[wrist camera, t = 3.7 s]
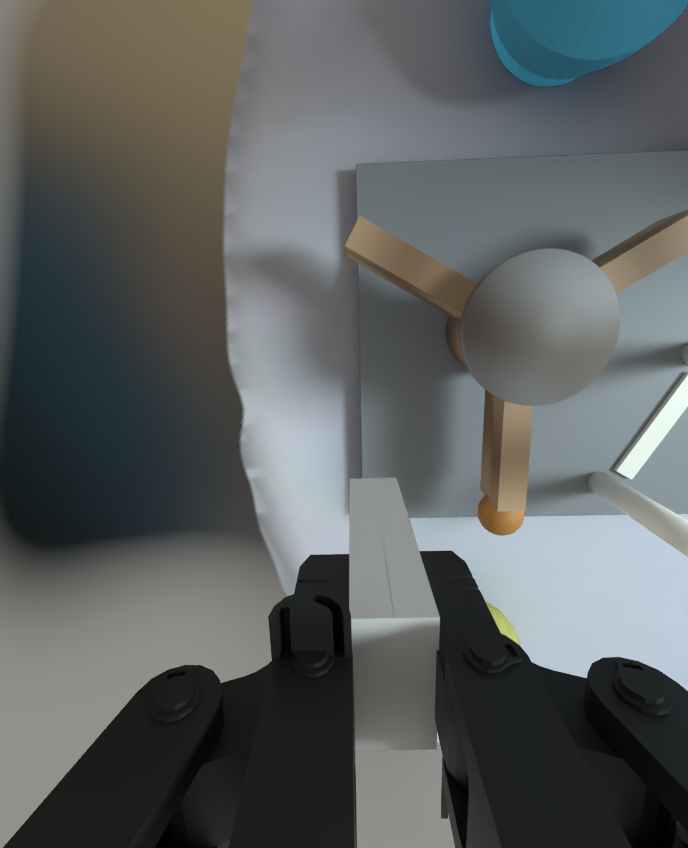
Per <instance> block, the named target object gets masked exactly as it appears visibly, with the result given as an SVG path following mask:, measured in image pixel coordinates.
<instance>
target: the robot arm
mask: <svg viewBox="0 0 688 848" xmlns="http://www.w3.org/2000/svg"><path fill="white" fill-rule="evenodd" d="M268 617H269V630H270V642H271V654H272V661H271V662H270V663H269V664H268V665H267V666H265V667H263V668H262V669H260V670H258V671H257V672H255V673H252V674H249V675H247V676H245V677H241V678H237V679H234V680H230V681H227V682H223V683H220V680H219V678H218V677H217V675H216V674H215V673H214V671H212V670H210V669H208V668H206V667H203V666H201V665H184V666H180V667H177V668H173V669H169V670H167V671H165V672H163V673H162V674H160V675H158V676H156V677H154V678H152V679H151V680H150V681H149V682H148V683H147V684H146V685H144V686H143V687H142V688H141V689H140V690H139V691H138V692H137V693H136V694H135V695H134V696H133V697H132V699H131V700H130V701H129V702H128V703H127V704H126V706H125V707H124V708H123V709H122V710H121V711H120V713H119V714H118V715H117V716H116V717H115V718H114V720H113V721H112V722H111V723H110V724H109V725H108V726H107V728H106V729H105V730H104V731H103V732H102V733H101V735H100V736H99V737H98V738H97V739H96V740H95V742H94V743H93V744H92V745H91V746H90V747H89V749H88V750H87V751H86V752H85V753H84V755H82V757H81V758H80V759H79V760H78V761H77V763H76V764H75V765H74V766H73V767H72V768H71V769H70V771H69V772H68V773H67V774H66V775H65V776H64V778H63V779H62V780H61V781H60V782H59V783H58V785H57V786H56V787H55V788H54V789H53V790H52V791H51V793H50V794H49V795H48V796H47V797H46V798H45V800H44V801H43V802H42V803H41V804H40V805H39V807H38V808H37V809H36V810H35V811H34V812H33V814H32V815H31V816H30V817H29V818H28V819H27V821H26V822H25V823H24V824H23V825H22V826H21V827H20V829H19V830H18V831H17V832H16V833H15V834H14V836H13V837H12V838H11V839H10V840H9V841H8V843H7V844H6V845H5V846H4V847H3V848H357V831H356V828H357V827H356V773H355V750H400V749H401V750H404V749H436V744H437V732H438V736H439V741H440V745H441V750H442V755H443V759H442V790H441V818H448V813H449V818H450V823H451V828H452V833H453V838H454V843H455V848H688V691H687V690H685V689H684V688H683V687H682V686H681V685H679V684H678V683H677V682H675V681H674V680H672V679H671V678H669V677H668V676H666V675H665V674H663V673H662V672H660V671H659V670H657V669H655V668H652V667H650V666H648V665H645V664H643V663H641V662H638V661H634V660H630V659H625V658H621V657H611V658H602V659H600V660H598V661H596V662H594V663H592V665H591V667H590V669H589V671H588V675H587V678H583V677H578V676H574V675H570V674H566V673H562V672H557V671H553V670H550V669H547V668H544V667H541V666H538V665H536V664H534V663H532V662H531V660H530V659H529V657H528V655H527V654H526V653H525V652H524V650H523V649H522V648H521V647H520V645H519V644H517V643H516V642H514V641H513V640H512V639H510V638H509V637H507V636H506V635H503V634H501V632H500V630H499V628H498V626H497V624H496V622H495V620H494V618H493V616H492V614H491V612H490V610H489V608H488V606H487V604H486V602H485V600H484V598H483V596H482V594H481V592H480V590H478V586H477V584H476V582H475V580H474V579H473V577H472V574H471V572H470V570H469V568H468V566H467V564H466V562H465V561H464V560H462V559H461V558H460V557H459V556H457V555H456V554H455V553H454V552H452V551H419V549H418V546H417V542H416V539H415V536H414V533H413V530H412V526H411V523H410V520H409V517H408V514H407V510H406V507H405V504H404V501H403V498H402V494H401V491H400V488H399V485H398V482H397V478H354V479H350V501H349V554H334V555H310V556H309V557H308V558H307V559H306V561H305V562H304V563H303V564H302V565H301V566H300V569H299V574H298V578H297V583H296V588H295V594H293V595H290V596H288V597H285V598H284V599H283V600H282V601H280V602H279V603H278V604H276V605H275V606H274V608H273V610H272V611H271V613H270V615H269V616H268Z"/></svg>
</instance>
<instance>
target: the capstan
mask: <svg viewBox="0 0 688 848" xmlns="http://www.w3.org/2000/svg"><path fill="white" fill-rule="evenodd" d="M687 252H688V210H686V211H683V212H680V213H677V214H674V215H672V216H669V217H666V218H663V219H660V220H658V221H656V222H655V223H653V224H651V225H650V226H648V227H646V228H645V229H643V230H641V231H640V232H638V233H636V234H635V235H633V236H631V237H630V238H628V239H626V240H625V241H623V242H621V243H620V244H618V245H616V246H615V247H613V248H611V249H610V250H608V251H606V252H605V253H603V254H601V255H600V256H598V257H596V258H595V259H593V260H591V261H590V260H589V259H588V258H586V257H584V256H582V255H580V254H577V253H574V252H571V251H568V250H562V249H550V248H547V249H538V250H533V251H529V252H526V253H523V254H520V255H518V256H515V257H513V258H511V259H509V260H507V261H505V262H503V263H501V264H499V265H498V266H497V267H495V268H494V269H492V270H491V271H490V272H489V273H488V274H487V275H486V276H484V277H483V278H482V280H481V281H480V282H479V283H478V284H476V283H475V282H473V281H471V280H470V279H468V278H466V277H464V276H463V275H461V274H459V273H458V272H456V271H454V270H453V269H451V268H449V267H447V266H446V265H444V264H442V263H441V262H439V261H437V260H435V259H434V258H432V257H430V256H429V255H427V254H425V253H423V252H422V251H420V250H418V249H417V248H415V247H413V246H411V245H410V244H408V243H406V242H405V241H403V240H401V239H399V238H398V237H396V236H394V235H393V234H391V233H389V232H387V231H386V230H384V229H382V228H381V227H379V226H377V225H375V224H374V223H372V222H370V221H369V220H367V219H365V218H363V217H362V216H359V218H358V220H357V222H356V224H355V226H354V228H353V230H352V232H351V234H350V236H349V238H348V240H347V242H346V244H345V253H346V257H347V258H349V259H351V260H352V261H354V262H356V263H358V264H359V265H361V266H363V267H365V268H366V269H368V270H370V271H372V272H373V273H375V274H377V275H379V276H380V277H382V278H384V279H386V280H387V281H389V282H391V283H393V284H394V285H396V286H398V287H400V288H401V289H403V290H405V291H407V292H408V293H410V294H412V295H414V296H415V297H417V298H419V299H421V300H422V301H424V302H426V303H428V304H429V305H431V306H433V307H435V308H436V309H438V310H440V311H442V312H443V313H445V314H447V315H449V317H448V320H447V324H446V339H447V344H448V347H449V349H450V351H451V353H452V355H453V356H454V358H455V359H456V360H457V361H458V362H459V363H460V364H461V365H463V366H464V367H466V368H467V369H468V370H469V372H470V373H471V375H472V377H473V378H474V379H475V380H476V381H477V382H478V384H480V385H481V386H482V387H483V388H484V389H485V402H484V422H483V441H482V461H481V481H480V489H481V491H482V492H483V493H484V495H485V496H484V497H483V498H482V499H481V501H480V502H479V505H478V510H477V513H478V518H479V521H480V523H481V524H482V526H483V527H484V528H485V529H486V530H488V531H489V532H491V533H493V534H496V535H509V534H512V533H514V532H515V531H517V530H518V529H519V528H520V526H521V525H522V523H523V520H524V511H525V509H526V496H527V483H528V471H529V458H530V445H531V432H532V420H533V407H534V406H542V405H549V404H553V403H557V402H560V401H563V400H565V399H567V398H570V397H572V396H574V395H575V394H577V393H578V392H580V391H582V390H583V389H584V388H586V387H587V386H588V385H589V384H591V383H592V382H593V381H594V380H595V378H596V377H597V376H598V375H599V374H600V373H601V372H602V370H603V369H604V368H605V366H606V364H607V363H608V361H609V360H610V358H611V356H612V353H613V351H614V349H615V346H616V343H617V340H618V335H619V330H620V307H619V303H618V298H617V295H616V294H617V293H618V292H620V291H622V290H623V289H625V288H627V287H629V286H630V285H632V284H634V283H636V282H637V281H639V280H641V279H642V278H644V277H646V276H648V275H649V274H651V273H653V272H654V271H656V270H658V269H660V268H661V267H663V266H665V265H666V264H668V263H670V262H672V261H673V260H675V259H677V258H678V257H680V256H682V255H684V254H685V253H687Z"/></svg>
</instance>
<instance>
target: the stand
mask: <svg viewBox="0 0 688 848" xmlns="http://www.w3.org/2000/svg"><path fill="white" fill-rule="evenodd" d="M356 193H357V220H358V218H359V216H362V217H363V218H365V219H367V220H369V221H370V222H372V223H374V224H375V225H377V226H379V227H381V228H382V229H384V230H386V231H387V232H389V233H391V234H393V235H394V236H396V237H398V238H399V239H401V240H403V241H405V242H406V243H408V244H410V245H411V246H413V247H415V248H417V249H418V250H420V251H422V252H423V253H425V254H427V255H429V256H430V257H432V258H434V259H435V260H437V261H439V262H441V263H442V264H444V265H446V266H447V267H449V268H451V269H453V270H454V271H456V272H458V273H459V274H461V275H463V276H464V277H466V278H468V279H470V280H471V281H473V282H475V283H476V284H478V283H479V282H480V281H481V280H482V278H483V277H484V276H486V275H487V274H488V273H489V272H490V271H491V270H492V269H494V268H495V267H497V266H498V265H499V264H501V263H503V262H505V261H507V260H509V259H511V258H513V257H515V256H518V255H520V254H523V253H526V252H529V251H533V250H538V249H547V248H550V249H562V250H568V251H571V252H574V253H577V254H580V255H582V256H584V257H586V258H588V259H589V260H590V261H591V260H593V259H595V258H596V257H598V256H600V255H601V254H603V253H605V252H606V251H608V250H610V249H611V248H613V247H615V246H616V245H618V244H620V243H621V242H623V241H625V240H626V239H628V238H630V237H631V236H633V235H635V234H636V233H638V232H640V231H641V230H643V229H645V228H646V227H648V226H650V225H651V224H653V223H655V222H656V221H658V220H660V219H663V218H666V217H669V216H672V215H674V214H677V213H680V212H683V211H686V210H688V150H678V151H654V152H630V153H607V154H583V155H559V156H535V157H512V158H488V159H464V160H440V161H416V162H393V163H369V164H356ZM358 294H359V344H360V395H361V445H362V478H397V482H398V485H399V488H400V491H401V494H402V498H403V501H404V504H405V507H406V510H407V514H408V517H409V518H435V517H478V513H477V510H478V505H479V502H480V501H481V499H482V498H483V497H484V496H485V495H484V493H483V492H482V491H481V489H480V481H481V461H482V441H483V422H484V402H485V389H484V388H483V387H482V386H481V385H480V384H478V382H477V381H476V380H475V379H474V378H473V377H472V375H471V373H470V372H469V370H468V369H467V368H466V367H464V366H463V365H461V364H460V363H459V362H458V361H457V360H456V359H455V358H454V356H453V355H452V353H451V351H450V349H449V347H448V344H447V339H446V324H447V320H448V317H449V315H447V314H445V313H443V312H442V311H440V310H438V309H436V308H435V307H433V306H431V305H429V304H428V303H426V302H424V301H422V300H421V299H419V298H417V297H415V296H414V295H412V294H410V293H408V292H407V291H405V290H403V289H401V288H400V287H398V286H396V285H394V284H393V283H391V282H389V281H387V280H386V279H384V278H382V277H380V276H379V275H377V274H375V273H373V272H372V271H370V270H368V269H366V268H365V267H363V266H361V265H359V264H358ZM616 295H617V298H618V303H619V307H620V330H619V335H618V340H617V343H616V346H615V349H614V351H613V353H612V356H611V358H610V360H609V361H608V363H607V364H606V366H605V368H604V369H603V370H602V372H601V373H600V374H599V375H598V376H597V377H596V378H595V380H594V381H593V382H592V383H591V384H589V385H588V386H587V387H586V388H584V389H583V390H582V391H580V392H578V393H577V394H575V395H574V396H572V397H570V398H567V399H565V400H563V401H560V402H557V403H553V404H549V405H542V406H534V407H533V420H532V432H531V445H530V458H529V471H528V483H527V496H526V509H525V511H524V516H569V515H628V516H629V517H631V518H632V519H634V520H635V521H637V522H638V523H640V524H641V525H642V526H644V527H645V528H647V529H648V530H650V531H651V532H653V533H654V534H655V535H657V536H658V537H660V538H661V539H663V540H664V541H666V542H667V543H668V544H670V545H671V546H673V547H674V548H676V549H677V550H679V551H680V552H681V553H683V554H684V555H686V556H687V557H688V520H686V519H684V518H683V517H681V516H679V515H677V514H688V252H687V253H685V254H684V255H682V256H680V257H678V258H677V259H675V260H673V261H672V262H670V263H668V264H666V265H665V266H663V267H661V268H660V269H658V270H656V271H654V272H653V273H651V274H649V275H648V276H646V277H644V278H642V279H641V280H639V281H637V282H636V283H634V284H632V285H630V286H629V287H627V288H625V289H623V290H622V291H620V292H618V293H617V294H616Z"/></svg>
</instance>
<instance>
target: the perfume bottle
mask: <svg viewBox="0 0 688 848" xmlns="http://www.w3.org/2000/svg"><path fill="white" fill-rule="evenodd" d="M687 6H688V0H491V13H490V29H491V35H492V40H493V44H494V47H495V49H496V52H497V55H498V57H499V58H500V60H501V61H502V63H503V64H504V66H505V67H506V68H507V69H508V70H509V71H510V72H511V73H512V74H513V75H514V76H515V77H517V78H518V79H520V80H522V81H523V82H526V83H528V84H531V85H534V86H542V87H551V86H559V85H562V84H565V83H568V82H571V81H573V80H574V79H576V78H578V77H579V76H582V75H585V74H588V73H591V72H594V71H597V70H600V69H602V68H605V67H608V66H611V65H613V64H615V63H618V62H620V61H622V60H624V59H626V58H627V57H629V56H631V55H632V54H634V53H636V52H637V51H639V50H641V49H642V48H643V47H645V46H646V45H647V44H649V43H650V42H651V41H652V40H654V39H655V38H656V37H657V36H658V35H660V34H661V33H662V32H663V31H664V30H666V29H667V28H668V27H669V26H670V25H671V24H673V23H674V22H675V21H676V19H677V18H678V17H679V16H680V15H681V14H682V12H683V11H684V10H685V9H686V8H687Z"/></svg>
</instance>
